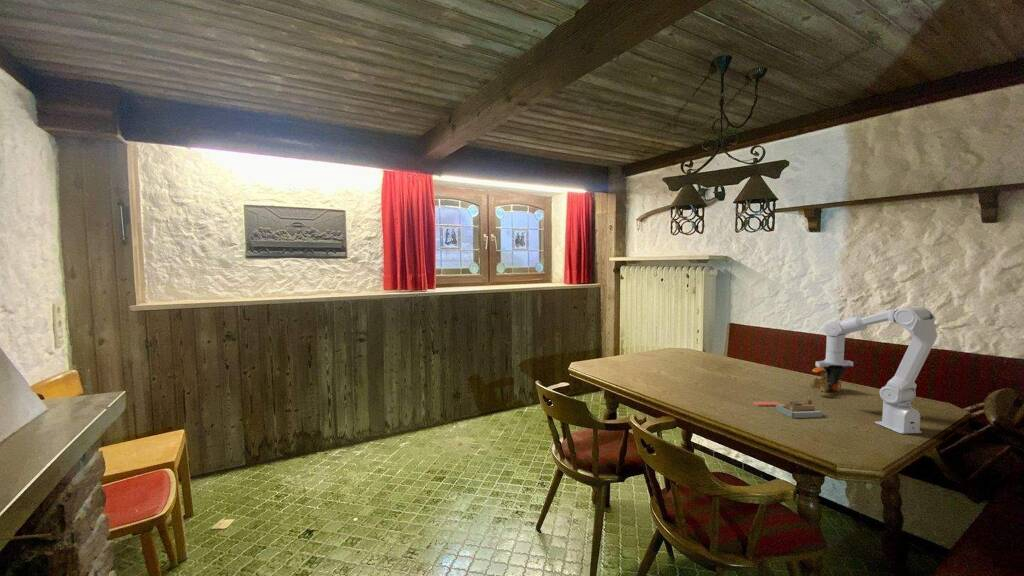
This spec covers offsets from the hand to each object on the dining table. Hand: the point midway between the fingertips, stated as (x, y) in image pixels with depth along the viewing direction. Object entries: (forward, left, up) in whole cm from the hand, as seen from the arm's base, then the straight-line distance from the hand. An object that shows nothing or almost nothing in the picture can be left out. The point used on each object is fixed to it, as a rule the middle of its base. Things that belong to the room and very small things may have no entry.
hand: (833, 383), depth 163 cm
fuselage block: (-5, +18, -10) cm, 21 cm away
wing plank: (+5, +24, -10) cm, 27 cm away
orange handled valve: (+18, -12, -10) cm, 24 cm away
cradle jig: (-5, +18, -10) cm, 21 cm away
